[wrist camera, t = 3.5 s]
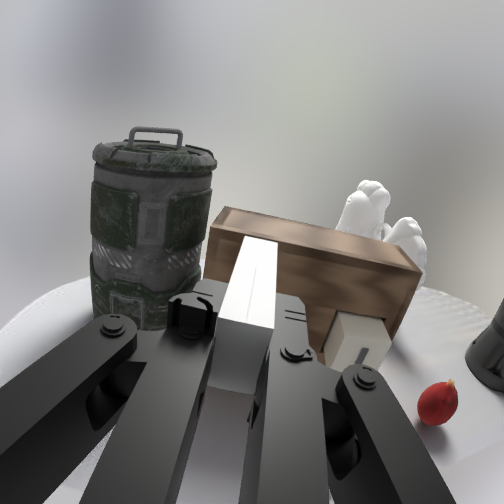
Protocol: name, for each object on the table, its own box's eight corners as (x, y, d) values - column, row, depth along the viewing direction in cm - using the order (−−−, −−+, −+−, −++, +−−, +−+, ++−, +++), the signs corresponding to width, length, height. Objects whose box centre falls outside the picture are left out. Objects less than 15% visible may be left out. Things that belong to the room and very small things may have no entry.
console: (348, 365, 44) (398, 245, 36) (356, 404, 37) (422, 272, 29) (204, 339, 44) (224, 206, 37) (191, 377, 37) (210, 226, 29)
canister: (158, 284, 56) (175, 126, 45) (215, 331, 47) (249, 140, 36) (79, 306, 44) (79, 122, 33) (125, 369, 35) (129, 130, 24)
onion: (446, 423, 33) (476, 385, 30) (428, 443, 30) (461, 403, 27) (420, 401, 37) (446, 362, 34) (400, 418, 34) (429, 377, 31)
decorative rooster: (300, 272, 72) (328, 166, 62) (358, 278, 75) (388, 182, 66) (342, 342, 49) (393, 198, 40) (410, 339, 53) (461, 217, 43)
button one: (363, 351, 34) (380, 315, 32) (372, 381, 30) (392, 344, 28) (323, 345, 34) (337, 308, 32) (327, 376, 30) (345, 337, 28)
